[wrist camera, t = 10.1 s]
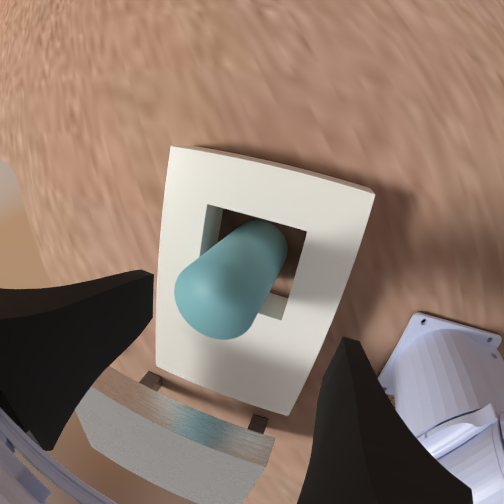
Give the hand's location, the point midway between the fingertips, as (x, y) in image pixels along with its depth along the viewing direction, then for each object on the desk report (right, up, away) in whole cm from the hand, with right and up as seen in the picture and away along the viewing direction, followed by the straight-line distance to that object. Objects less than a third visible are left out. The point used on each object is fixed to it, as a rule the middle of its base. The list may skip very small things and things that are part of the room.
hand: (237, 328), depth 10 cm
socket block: (0, 0, +11) cm, 11 cm away
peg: (+1, +3, +10) cm, 11 cm away
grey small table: (-3, -8, +15) cm, 18 cm away
